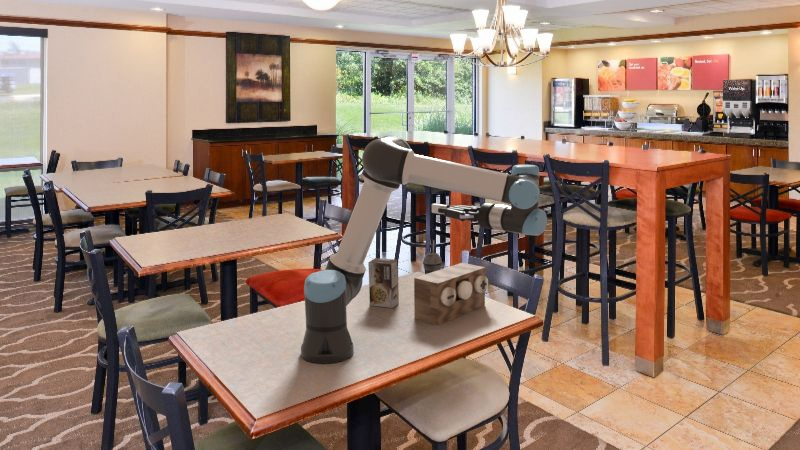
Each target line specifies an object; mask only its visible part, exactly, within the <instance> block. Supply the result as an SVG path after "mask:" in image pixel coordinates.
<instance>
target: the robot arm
mask: <svg viewBox="0 0 800 450" xmlns="http://www.w3.org/2000/svg"><path fill="white" fill-rule="evenodd" d="M361 162H362V167H363V170H362V171H361V177H362V179H363V181H364V182H363V184H362V187H361V189H360V192H359V194H358V197H357V199H356V203H355V205H354V208H353V210H352V213H351V215H350V218H349V220H348V223H347V225H346V229H345V231H344V233H343V236H342V238H341V241H340V243H339V246H338V249H337V251H336V253H334V254H331V255H329V259H328V260H327V263H326V267H325V269H323V270H322V269H321V270H318V271H317V272H316V271H315V272H311V273H310V274H309V275H308V276H307V277H306V278H305V280H304V286H303V294H304V309H305V310H304V311H305V332H304V336H303V341H302V343H301V346H300V355H301V356H300V357H301V358H302V359H303V360H305V361H307V362H309V363H314V364H333V363H334V364H335V363H339V362H344V361H346V360H347V359H349V358H351V357H352V356H353V355H354V353H355V352H354V351H355V350H354V349H355V348H354V343H353V341H352V337H351V335H350V332H349V330H348V321H347V316H348V315H347V307H348V305H349V304H350V303H351V302H352V301H353V299H354V298H356V297H357V296H358V295H359V293H360V292H361V289H362V286H363V281H364V280H363V279H364V276H365V274H366V271H367V268H366V266H365V264H364V263H365V259H366V258H367V254H368V253H369V250H370V249H371V248H370V247H371V245H372V243H373V240H374V238H375V234H376V232H377V230H378V227H379V225H380V223H381V220H382V217H383V215H384V213H385V210H386V208H387V205H388V202H389V199H390V198H391V195H392V192H394V191H397V190H399V188H400V186H401V185H407V184H408V183H412V184H416V185H421V186H427V187H429V188H434V189H435V188H436V189H440V190H445V191H449V192H454V193H459V194H464V195H468V196H471V197H472V196H473V197H478V198H483V199H487V200H492V201H497V202H501V203H502V204H501V203H498V204H497V203H493V202H484V203H483V204H481V206H475V205H473V206H471V205H460V204H457V205H450V204H441V203H440V204H439V203H432V204H431V213H432V214H440V215H443V216H444V217H446V218H450V219H454V220H458V221H460V222H465V221H471V222H472V223H473V222H474V223H476V222H478V224H479V226H480V227H481V228H482V229H488V230H496V231H501V233H502V234H504V233H506V232H510V233H514V234H521V235H525V236H540V235H542V234H543V233H544V231H545V230H546V228H547V224H548V216H547V213H546V212H545V210H543V209H541V208H539V198H540V195H541V193H540V177H541V176H540V169H539V166H538V165H534V164H515V165H513V166H512V168H511V174H509V173H506V172H501V171H496V170H491V169H487V168H481V167H478V166H471V165H468V164H462V163H458V162H453V161H449V160H444V159H439V158H436V157H435V158H433V157H430V156H424V155H419V154H416V153H415V152H414V150H413V149H412V148H411V146H410V144H409V143H408V142H407V141H406V140H404V139H403V138H401V137H399V136H395V135H384V136H382V137H380V138H377V139H376V138H375V139H373V140H372V141H370V142H369V143H368V144H367V145H366V146H365V148H364V150H363V153H362V155H361ZM503 203H504V204H503Z"/></svg>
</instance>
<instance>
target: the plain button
mask: <svg viewBox="0 0 800 450" xmlns="http://www.w3.org/2000/svg"><path fill="white" fill-rule="evenodd" d="M471 293H472V284H471V283H470V282H468V281H461V282H460V283H459V284H458V287H457V296H458V297H459V298H461V299H468V298H469V297H470V296H471Z"/></svg>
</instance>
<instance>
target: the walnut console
mask: <svg viewBox="0 0 800 450" xmlns="http://www.w3.org/2000/svg"><path fill="white" fill-rule="evenodd" d="M413 279H414V280H413V288H414V290H413V291H414V292H413V293H414V294H413V295H414V299H413V300H414V303H413V304H414V309H413V310H414V317H413V318H414V319H416V320H418V321H422V322H425V323H429V324H432V325H436V326H439V325H441V324H444V323H447V322H449V321H451V320H453V319H456V318H458V317H461V316H464V315H467V314H468V313H470V312H473V311H476V310H478V309H481V308H483V307H485V305H486V291H487V290H488V286H489V279H488V277H487V276H486V267H485V266H481V265H475V264H471V263H466V262H460V263H456V264H455V265H451V266H447V267H444V268H441V270H438V271H434V272H431V273H428V274H425V273H424V274H422V275H420V276H416V277H414V278H413ZM461 281H468V282H470V283H471V284H472V293H471V296H470V297H469V298H468V299H461V298H459V297H458V296H457V287H458V284H459V283H460V282H461Z"/></svg>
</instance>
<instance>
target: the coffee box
mask: <svg viewBox="0 0 800 450" xmlns="http://www.w3.org/2000/svg"><path fill="white" fill-rule="evenodd" d="M367 263H368V264H367V265H368V286H369V287H368V288H369V289H368V291H369V295H368V296H369V306H372V307H379V308H380V307H381V308H388V309H389V308H390V309H392V308H394V307H395V306H397V305H398V304H399V303H400V301H399V300H400V297H399V260H398V259H391V258H383V257H382V258H380V257H374V258H373V259H372V260H370V261H368V262H367Z"/></svg>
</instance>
